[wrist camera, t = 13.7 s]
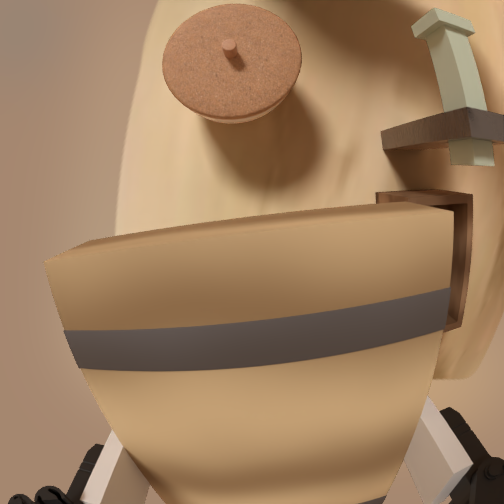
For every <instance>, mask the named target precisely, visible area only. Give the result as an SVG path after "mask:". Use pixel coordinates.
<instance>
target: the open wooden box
mask: <svg viewBox="0 0 504 504" xmlns="http://www.w3.org/2000/svg"><path fill="white" fill-rule="evenodd" d="M392 202H411V203H416V204H421V205H425V206H430V207H435V208H439V209H444V210H448V211H453V212H454V232H453V256H452V269H451V280H450V287H451V293H450V301H449V308H448V314H447V320H446V326H445V329H443V332H446V331H450V330H453V329H456V328H459V327H461V325H462V320H463V314H464V309H465V303H466V296H467V289H468V282H469V273H470V263H471V251H472V232H473V194H466V193H459V192H452V191H444V190H436V189H430V190H409V191H391V192H376V204H380V203H392Z"/></svg>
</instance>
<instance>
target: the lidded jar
mask: <svg viewBox="0 0 504 504" xmlns="http://www.w3.org/2000/svg"><path fill="white" fill-rule="evenodd" d="M301 63H302V54H301V48H300V44H299V42H298V39H297V37H296V35H295V34H294V32H293V31H292V29H291V28H290V27H289V26H288V25H287V23H286V22H284V21H283V20H282V19H281V18H279V17H278V16H277V15H275V14H273V13H271V12H270V11H267V10H265V9H262V8H260V7H256V6H252V5H246V4H225V5H218V6H215V7H211V8H208V9H205V10H203V11H200V12H198V13H197V14H195V15H193V16H191V17H190V18H189V19H187V20H186V21H185V22H183V23H182V24H181V25H180V26H179V27H178V28H177V29H176V30H175V32H174V33H173V34H172V36H171V37H170V39H169V41H168V43H167V45H166V48H165V51H164V54H163V61H162V67H163V75H164V79H165V81H166V84H167V86H168V88H169V89H170V91H171V92H172V94H173V95H174V96H175V97H176V98H177V99H178V100H179V101H180V102H181V103H182V104H183V105H184V106H186V107H187V108H189V109H190V110H192V111H193V112H195V113H196V114H198V115H200V116H202V117H204V118H206V119H209V120H212V121H215V122H220V123H230V124H236V123H244V122H248V121H252V120H255V119H258V118H260V117H262V116H264V115H266V114H267V113H269V112H271V111H272V110H273V109H274V108H276V107H277V106H278V105H279V104H280V103H281V102H282V101H283V100H284V98H285V97H286V96H287V94H288V93H289V92H290V91H291V89H292V87H293V86H294V84H295V82H296V80H297V78H298V75H299V73H300V68H301Z"/></svg>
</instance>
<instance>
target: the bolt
mask: <svg viewBox="0 0 504 504" xmlns="http://www.w3.org/2000/svg"><path fill="white" fill-rule="evenodd" d="M411 28H412V31H413V34H414V37H415V38H418V39H422V40H426V42H427V45H428V48H429V51H430V55H431V58H432V62H433V65H434V69H435V73H436V77H437V81H438V85H439V90H440V94H441V99H442V104H443V109H444V112H448V111H452V110H455V109H459V108H463V107H471V108H476V109H480V110H485V111H487V107H486V102H485V97H484V93H483V89H482V84H481V80H480V77H479V73H478V69H477V66H476V62H475V59H474V56H473V53H472V50H471V47H470V44H469V41H468V38H467V37H468V36H470V35H472V34H474V33H475V31H474V28H473V26H472V23H471V21H470V20H467V19H465V18H462V17H460V16H457V15H455V14H452V13H449V12H446V11H443V10H440V9H437V8H433V9H431V10H430V11H429V12H428V13H427V14H425V15H424V16H423V17H422V18H420V19H419V20H418V21H417V22H416V23H414V24H413V25H412V26H411ZM448 142H449V150H450V160H451V165H470V166H494V155H493V146H492V142H491V141H484V140H477V139H466V140H457V141H448Z"/></svg>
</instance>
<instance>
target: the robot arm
mask: <svg viewBox="0 0 504 504" xmlns="http://www.w3.org/2000/svg"><path fill="white" fill-rule="evenodd" d="M404 461H405V463H406V466H407V468H408V470H409V472H410V474H411V477H412V479H413V481H414V483H415V486H416V488H417V490H418V493H419V495H420V497H421V499H422V502H423V504H439V503H441V502H443V501H444V500H445V499H446V498H447V497H448V496H449V495H450V497H451V498H452V501H451V502H450V503H449V504H504V460H503V459H501V458H498V457H491V456H490V455H489V454H488V452H487V451H486V450H485V448H484V447H483V445H482V444H481V442H480V441H479V439H478V438H477V437H476V435H475V434H474V432H473V431H472V430H471V429H470V427H469V425H468V424H466V421H465V420H464V419H463V417H462V416H461V415H460V413H458V412H457V411H455V410H454V409H452V408H450V407H448V408H446V409H443V410H441V411H438V409H437V408H436V406H435V405H434V403H433V402H432V400H431V399H430V398H429V396H428V395H427V398H426V402H425V405H424V408H423V411H422V414H421V417H420V419H419V422H418V424H417V427H416V430H415V432H414V435H413V438H412V440H411V443H410V445H409V448H408V450H407V452H406V455H405V457H404ZM149 486H150V483H149V482H148V481H147V479H146V478H145V477H144V475H143V474H142V473H141V471H140V470H139V469H138V467H137V466H136V464H135V463H134V461H133V460H132V459H131V457H130V456H129V454H128V453H127V451H126V450H125V448H124V447H123V446H122V444H121V442H120V441H119V439H118V438H117V436H116V434H115V433H114V431H113V430H112V431H111V433H110V435H109V437H108V439H107V442H106V444H105V445H100V444H95V445H94V446H93V447H92V448H91V449H90V450H89V451H88V452H87V454H86V456H85V458H84V460H83V463H81V466H80V469H79V470H78V471H77V473H76V476H75V478H74V480H73V482H72V484H71V486H70V488H69V490H68V492H67V494H66V495H65V494H64V493H63V492H62V491H61V490H60V489H59V488H57V487H54V486H45V487H42V488H41V489H40V490H38V492H37V493H36V495H35V500H34V501H35V502H33V501H32V500H31V499H30V498H29V497H27V496H26V495H24V494H16V495H14V496H13V497H11V498H10V500H9V502H8V504H145V500H146V496H147V493H148V489H149Z"/></svg>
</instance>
